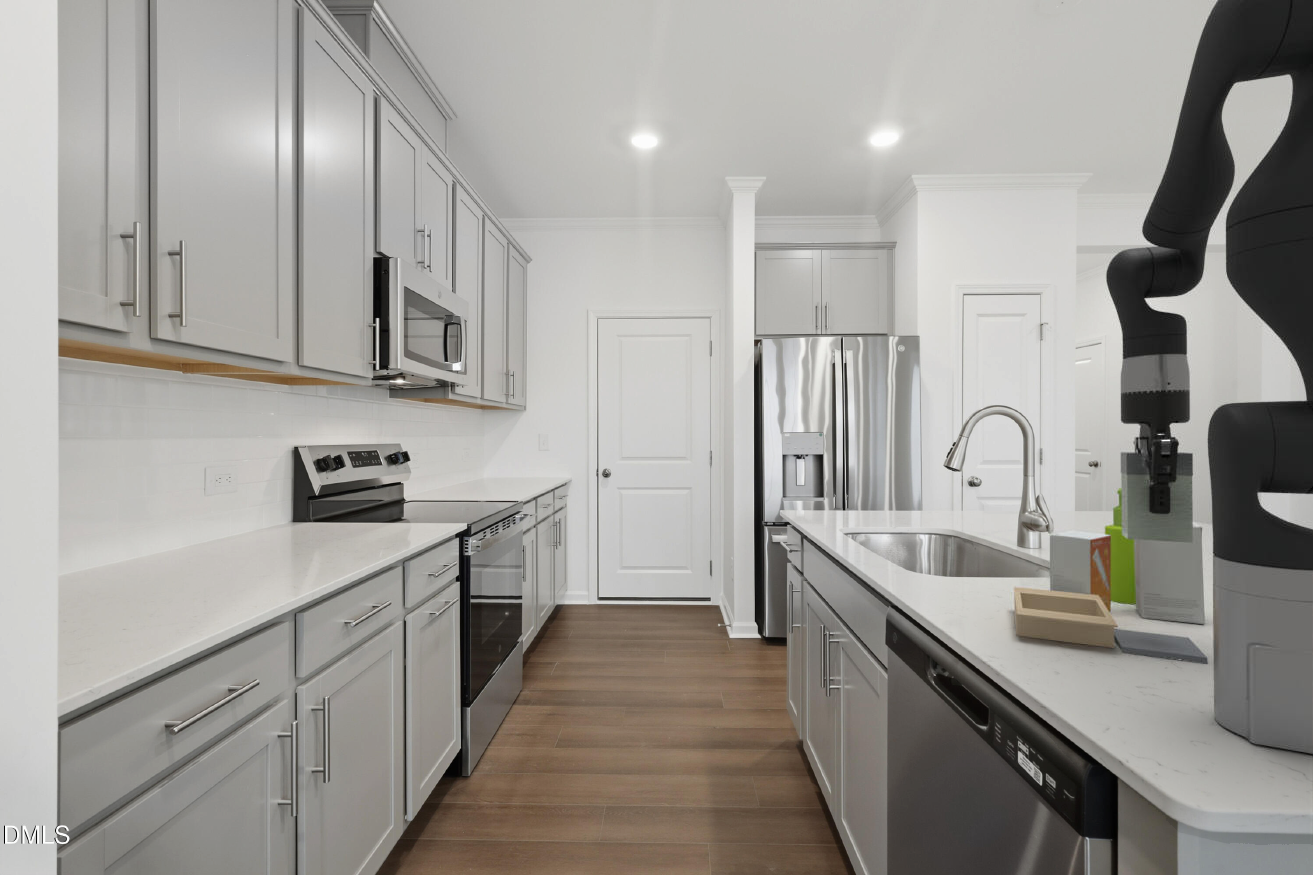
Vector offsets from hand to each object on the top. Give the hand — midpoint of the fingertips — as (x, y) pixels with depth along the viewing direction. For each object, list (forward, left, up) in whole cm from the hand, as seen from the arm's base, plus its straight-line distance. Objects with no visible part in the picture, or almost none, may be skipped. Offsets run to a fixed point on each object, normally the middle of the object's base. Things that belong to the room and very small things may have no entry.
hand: (1155, 510), depth 85 cm
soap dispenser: (+29, -1, -19) cm, 35 cm away
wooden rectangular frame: (+3, +11, -19) cm, 22 cm away
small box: (+17, +7, -20) cm, 27 cm away
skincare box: (+19, -5, -20) cm, 28 cm away
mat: (0, 0, -19) cm, 19 cm away
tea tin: (0, 0, -4) cm, 4 cm away
